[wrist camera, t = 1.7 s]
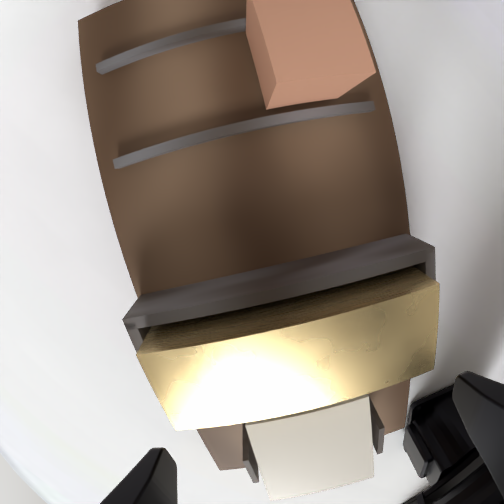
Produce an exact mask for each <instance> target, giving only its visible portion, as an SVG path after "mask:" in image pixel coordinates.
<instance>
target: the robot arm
mask: <svg viewBox="0 0 504 504" xmlns="http://www.w3.org/2000/svg"><path fill="white" fill-rule="evenodd" d="M403 446H404V450H405V452H407V454H408V456H409V458H410V460H411V462H412V464H413V466H414V468H415V470H416V472H417V474H418V476H419V477H420V478H424V477H427V479H428V481H429V483H430V485H431V487H430V488H428V489H427V490H425V491H424V492H423V491H422V492H421V493H419V494H418V495H416V498H417V503H418V504H504V384H502V383H499V382H496V381H494V380H491V379H488V378H485V377H483V376H480V375H477V374H475V373H472V372H469V371H466V372H463V373H461V374H459V375H458V376H457V377H456V379H455V383H454V385H452V386H450V387H448V388H446V389H444V390H441V391H439V392H437V393H435V394H432V395H430V396H428V397H425V398H423V399H421V400H418V401H416V402H414V403H413V404H412V405H411V407H410V413H409V420H408V425H407V427H406V429H405V435H404V441H403ZM100 504H177V466H176V463H175V461H174V460H173V458H172V457H171V455H170V454H169V453H168V451H167V450H166V449H165V448H152V449H150V450H149V452H148V453H147V454H146V455H145V456H144V457H143V458H142V459H141V460H140V461H139V463H138V464H137V465H136V466H135V467H134V468H133V469H132V470H131V471H130V472H129V473H128V475H127V476H126V477H125V478H124V479H123V480H122V481H121V482H120V483H119V484H118V485H117V486H116V487H115V488H114V489H113V491H112V492H111V493H110V494H109V495H108V496H107V497H106V498H105V499H104V500H103V501H102V502H101V503H100Z"/></svg>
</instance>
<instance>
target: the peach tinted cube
mask: <svg viewBox="0 0 504 504" xmlns="http://www.w3.org/2000/svg"><path fill="white" fill-rule="evenodd" d="M246 36H247V39H248V43H249V46H250V50H251V53H252V57H253V61H254V64H255V68H256V72H257V75H258V79H259V83H260V87H261V91H262V95H263V98H264V102H265V106H266V110H267V109H272V108H278V107H283V106H289V105H295V104H301V103H307V102H314V101H321V100H329V99H337V98H339V97H340V96H342V95H343V94H345V93H346V92H348V91H349V90H350V89H352V88H353V87H355V86H356V85H358V84H359V83H361V82H362V81H364V80H365V79H367V78H368V77H370V76H371V75H373V74H374V73H376V70H375V67H374V64H373V60H372V57H371V54H370V51H369V48H368V45H367V42H366V39H365V37H364V34H363V31H362V28H361V26H360V23H359V20H358V18H357V15H356V13H355V10H354V8H353V5H352V3H351V0H247V2H246Z"/></svg>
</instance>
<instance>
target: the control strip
mask: <svg viewBox="0 0 504 504" xmlns="http://www.w3.org/2000/svg"><path fill="white" fill-rule="evenodd" d="M246 2H247V0H123V1H120V2H118V3H115V4H113V5H111V6H108V7H106V8H104V9H101V10H99V11H97V12H95V13H93V14H91V15H89V16H86V17H84V18H82V19H80V20H78V30H79V44H80V55H81V65H82V74H83V82H84V89H85V96H86V103H87V109H88V115H89V121H90V127H91V132H92V137H93V142H94V147H95V152H96V157H97V161H98V166H99V170H100V174H101V179H102V183H103V187H104V191H105V195H106V198H107V202H108V206H109V210H110V213H111V217H112V220H113V224H114V227H115V231H116V234H117V237H118V241H119V244H120V247H121V250H122V253H123V257H124V260H125V263H126V266H127V269H128V272H129V275H130V277H131V280H132V283H133V286H134V289H135V292H136V294H137V297H138V299H137V300H136V302H135V303H134V304H133V306H132V307H131V308H130V310H129V311H128V312H127V314H126V315H125V317H124V318H123V319H122V320H123V322H124V325H125V327H126V329H127V332H128V334H129V336H130V339H131V341H132V343H133V345H134V348H135V350H136V352H138V350H139V348H140V346H141V344H142V343H143V341H144V339H145V337H146V335H147V333H148V331H149V329H150V328H151V326H156V325H161V324H167V323H172V322H178V321H183V320H188V319H194V318H199V317H204V316H209V315H214V314H219V313H224V312H228V311H233V310H238V309H243V308H247V307H252V306H256V305H261V304H265V303H270V302H274V301H279V300H283V299H287V298H291V297H296V296H300V295H304V294H308V293H312V292H316V291H320V290H324V289H328V288H332V287H336V286H340V285H344V284H348V283H351V282H355V281H359V280H363V279H366V278H370V277H374V276H377V275H381V274H385V273H388V272H392V271H395V270H399V269H402V268H406V267H409V266H414V267H415V268H417V269H418V270H420V271H421V272H423V273H424V274H426V275H427V276H429V277H430V278H432V279H433V280H435V281H436V278H435V247H434V246H432V245H430V244H428V243H426V242H423V241H421V240H419V239H417V238H415V237H413V236H411V235H410V230H409V220H408V211H407V202H406V195H405V188H404V181H403V174H402V168H401V162H400V157H399V151H398V146H397V141H396V136H395V132H394V127H393V123H392V118H391V114H390V110H389V106H388V102H387V98H386V94H385V90H384V87H383V83H382V80H381V76H380V73H379V69H378V66H377V63H376V60H375V57H374V54H373V50H372V48H371V45H370V42H369V39H368V36H367V33H366V30H365V28H364V25H363V22H362V20H361V17H360V15H359V12H358V10H357V7H356V5H355V2H354V0H351V3H352V5H353V8H354V10H355V13H356V15H357V18H358V20H359V23H360V26H361V28H362V31H363V34H364V37H365V39H366V42H367V45H368V48H369V51H370V54H371V57H372V60H373V64H374V67H375V70H376V73H374V74H373V75H371V76H370V77H368V78H367V79H365V80H364V81H362V82H361V83H359V84H358V85H356V86H355V87H353V88H352V89H350V90H349V91H348V92H346V93H345V94H343V95H342V96H340V97H339V98H337V99H329V100H321V101H314V102H307V103H301V104H295V105H289V106H283V107H278V108H272V109H267V110H266V106H265V102H264V98H263V95H262V91H261V87H260V83H259V79H258V75H257V72H256V68H255V64H254V61H253V57H252V53H251V50H250V46H249V43H248V39H247V36H246ZM409 387H410V379H408V380H405V381H403V382H400V383H397V384H395V385H392V386H389V387H386V388H383V389H380V390H377V391H374V392H371V393H368V396H369V402H370V414H371V427H372V442H373V445H374V448H375V450H376V452H377V454H380V453H382V452H383V442H384V435H386V434H388V433H391V432H394V431H396V430H399V429H402V428H404V427H405V420H406V413H407V405H408V396H409ZM245 423H246V422H245ZM245 423H239V424H232V425H224V426H216V427H207V428H197V431H198V433H199V435H200V436H201V438H202V440H203V442H204V444H205V445H206V447H207V449H208V451H209V452H210V454H211V456H212V458H213V459H214V461H215V463H216V465H217V466H218V468H219V470H229V469H238V468H246V469H247V471H248V473H249V475H250V477H251V479H252V481H253V483H257V482H259V475H258V464H257V461H256V458H255V455H254V452H253V449H252V446H251V442H250V439H249V436H248V433H247V430H246V427H245Z"/></svg>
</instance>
